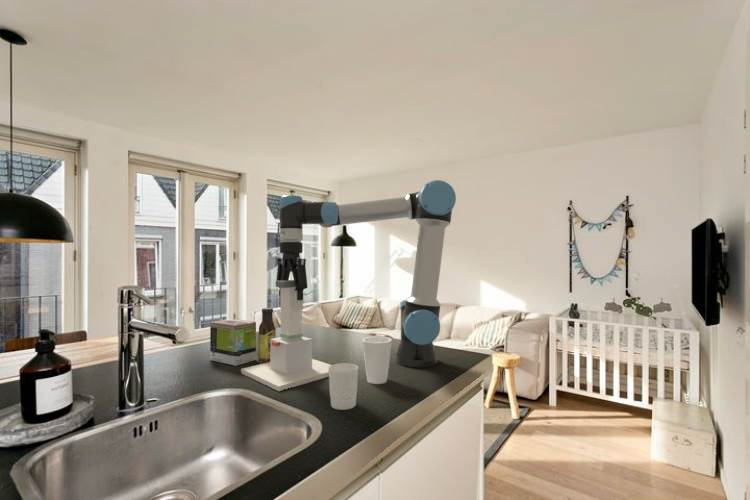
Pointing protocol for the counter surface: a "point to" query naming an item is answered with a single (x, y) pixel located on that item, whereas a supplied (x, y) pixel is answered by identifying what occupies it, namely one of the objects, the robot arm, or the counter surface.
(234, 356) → the tea box
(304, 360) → the post stand
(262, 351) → the sauce bottle
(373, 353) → the foam cup
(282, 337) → the post
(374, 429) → the counter surface
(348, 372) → the white cup
